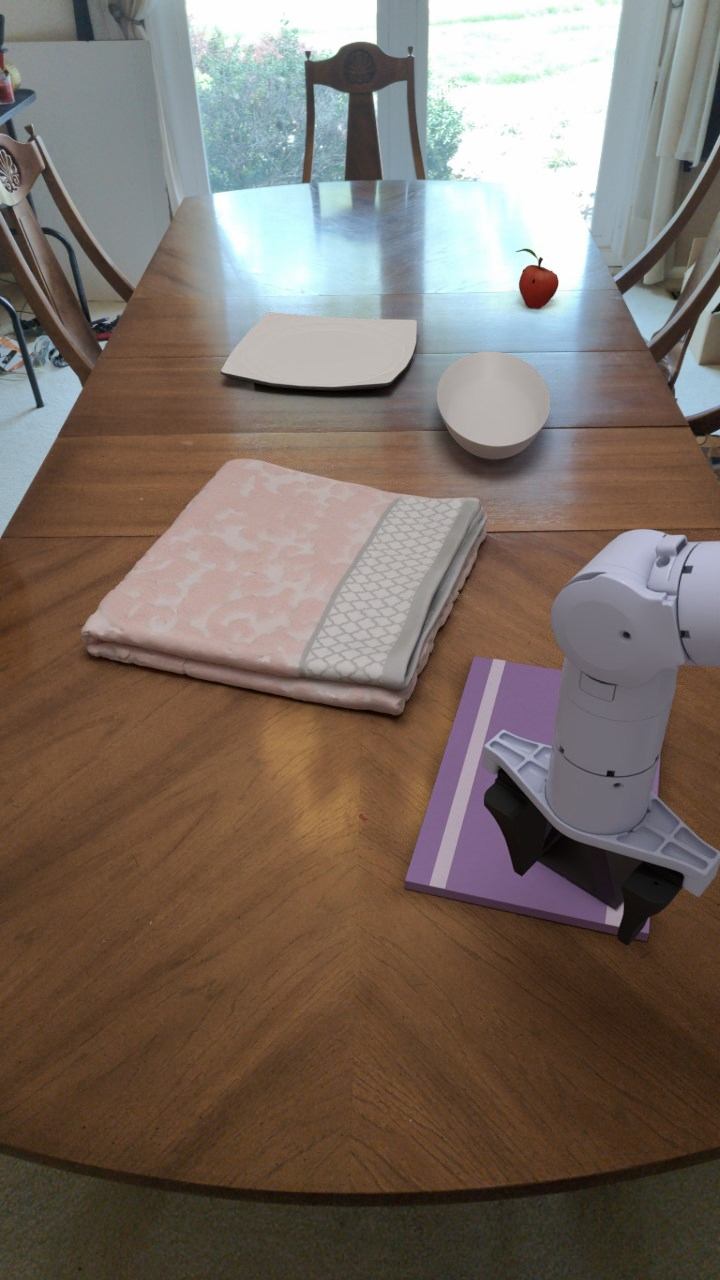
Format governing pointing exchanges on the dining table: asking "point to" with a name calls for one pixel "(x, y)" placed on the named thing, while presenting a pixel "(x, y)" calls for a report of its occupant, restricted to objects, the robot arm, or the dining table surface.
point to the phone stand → (588, 866)
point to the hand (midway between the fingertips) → (577, 897)
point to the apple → (537, 284)
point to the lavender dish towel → (468, 833)
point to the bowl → (493, 403)
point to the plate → (323, 352)
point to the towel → (295, 587)
